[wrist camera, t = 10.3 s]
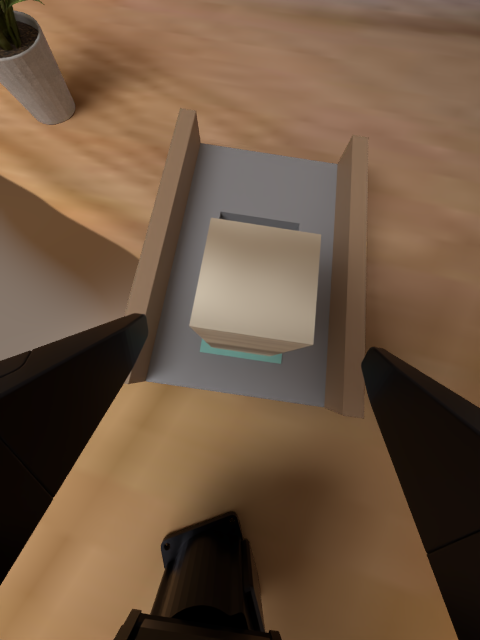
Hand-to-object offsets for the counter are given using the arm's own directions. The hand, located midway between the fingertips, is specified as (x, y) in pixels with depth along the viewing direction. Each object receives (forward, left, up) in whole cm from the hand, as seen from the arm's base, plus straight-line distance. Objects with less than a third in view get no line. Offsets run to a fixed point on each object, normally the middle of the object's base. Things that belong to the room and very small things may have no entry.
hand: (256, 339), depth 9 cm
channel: (+4, +8, -13) cm, 16 cm away
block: (+1, +2, -10) cm, 10 cm away
